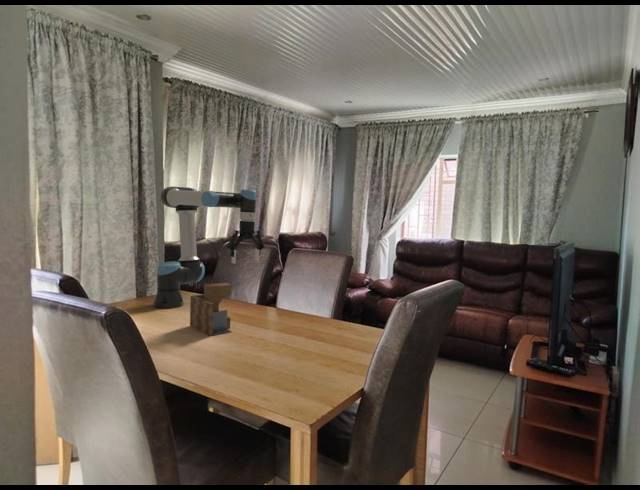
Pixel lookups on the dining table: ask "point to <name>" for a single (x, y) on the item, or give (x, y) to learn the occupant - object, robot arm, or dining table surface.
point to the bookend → (220, 323)
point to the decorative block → (217, 295)
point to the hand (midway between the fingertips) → (245, 262)
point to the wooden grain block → (201, 314)
